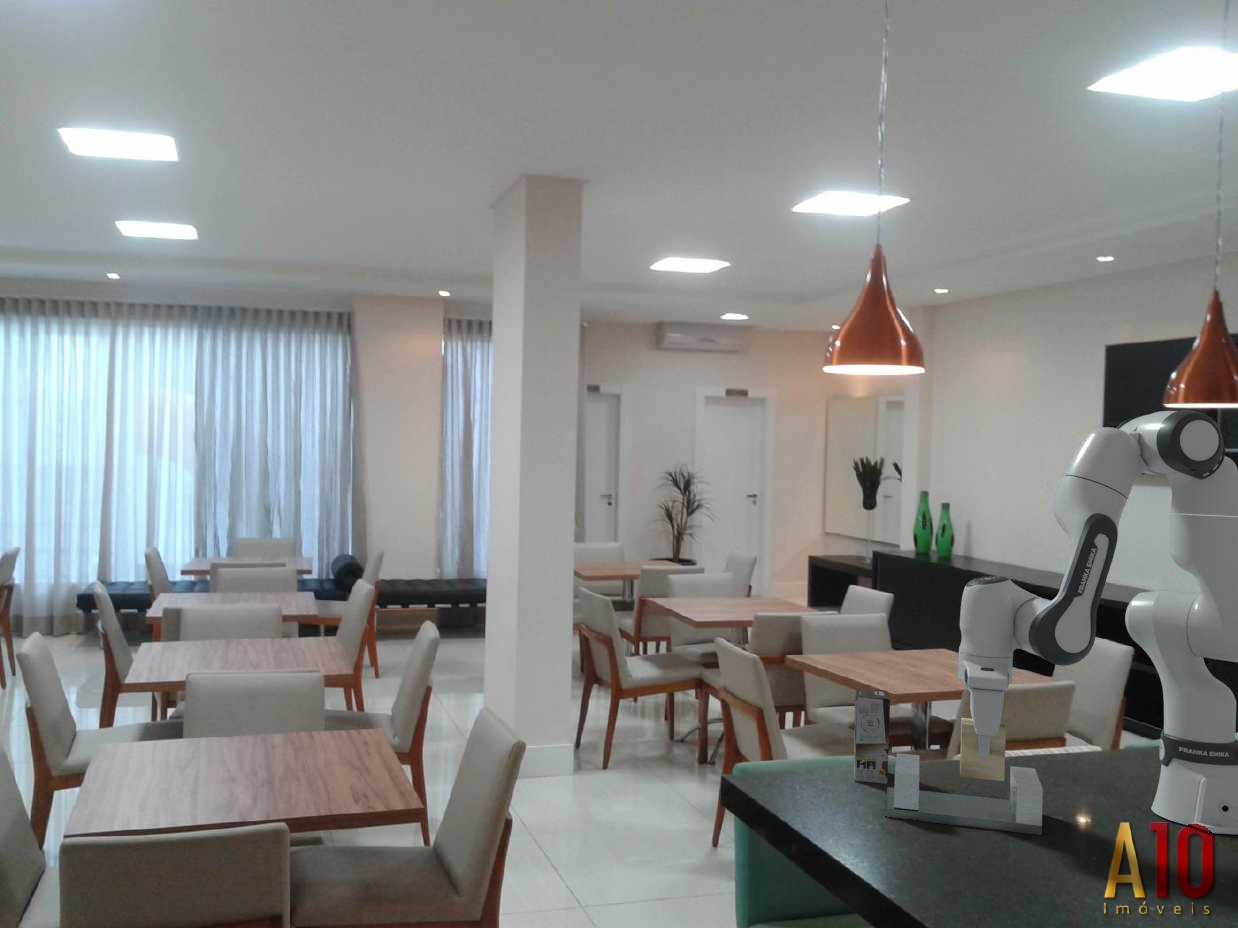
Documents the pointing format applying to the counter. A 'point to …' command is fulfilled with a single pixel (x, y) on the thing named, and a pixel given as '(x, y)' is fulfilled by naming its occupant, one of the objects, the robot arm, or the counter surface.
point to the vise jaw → (906, 781)
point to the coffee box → (871, 735)
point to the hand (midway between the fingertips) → (982, 750)
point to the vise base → (981, 806)
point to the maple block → (977, 764)
